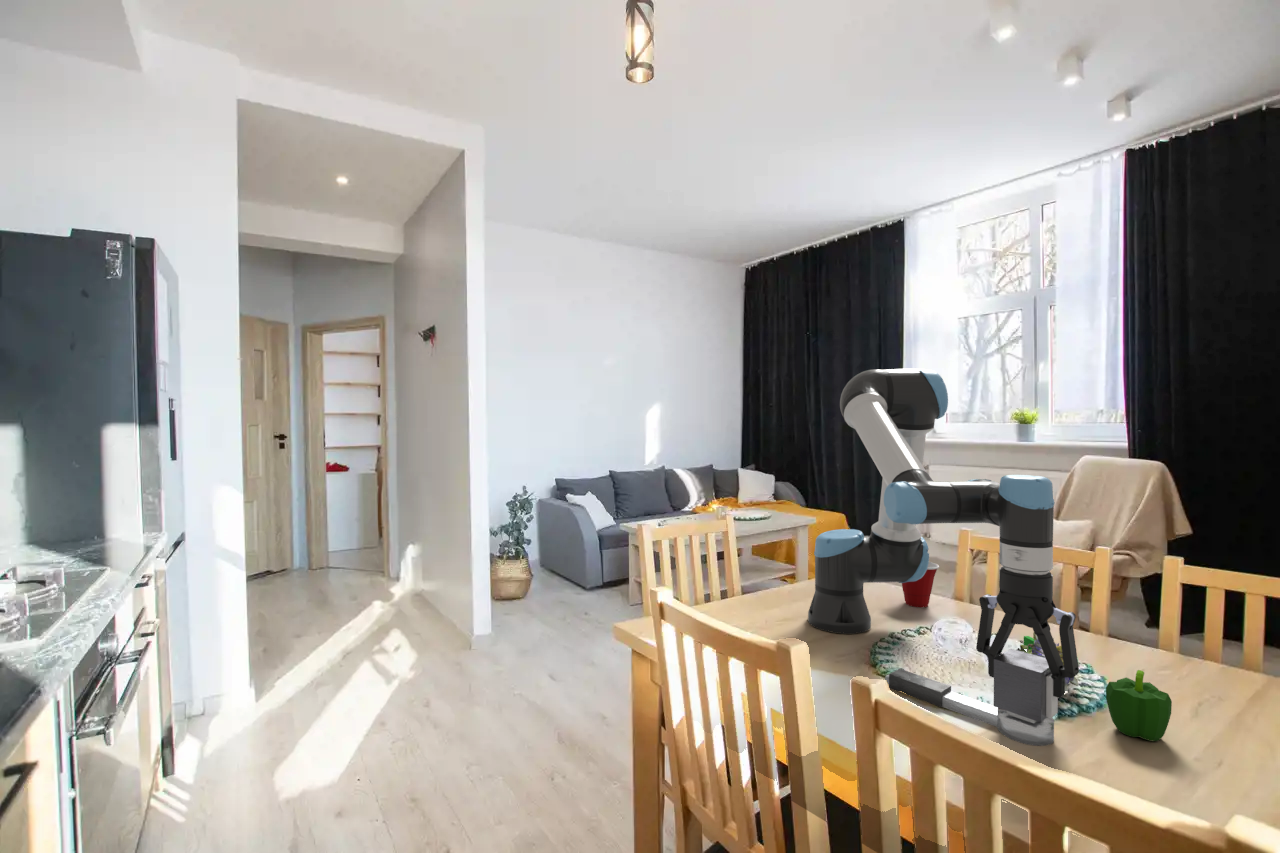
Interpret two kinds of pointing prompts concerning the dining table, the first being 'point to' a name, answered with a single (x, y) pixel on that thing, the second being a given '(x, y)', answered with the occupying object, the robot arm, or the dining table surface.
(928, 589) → the plastic cup
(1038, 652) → the passion flower
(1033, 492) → the robot arm
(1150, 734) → the bell pepper
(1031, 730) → the ratchet
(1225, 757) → the dining table surface
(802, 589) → the dining table surface
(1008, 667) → the dark grey cube
